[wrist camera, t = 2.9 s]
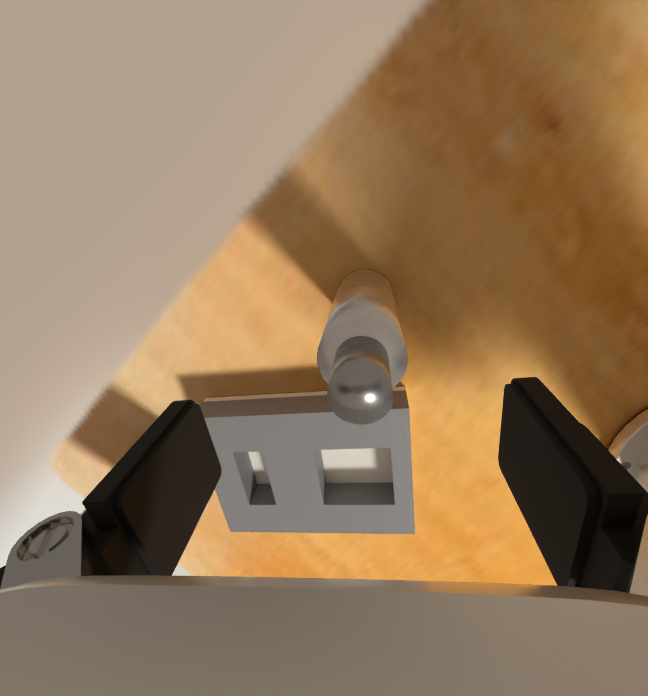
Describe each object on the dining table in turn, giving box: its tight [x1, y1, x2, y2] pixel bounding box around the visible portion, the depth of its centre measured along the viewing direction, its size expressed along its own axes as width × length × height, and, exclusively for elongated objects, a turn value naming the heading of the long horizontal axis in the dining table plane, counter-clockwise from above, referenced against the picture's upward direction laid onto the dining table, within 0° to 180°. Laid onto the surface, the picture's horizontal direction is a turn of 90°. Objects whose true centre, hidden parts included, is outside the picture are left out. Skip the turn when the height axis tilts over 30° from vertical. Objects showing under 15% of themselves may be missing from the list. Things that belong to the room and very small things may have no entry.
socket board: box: [200, 386, 415, 534], centre depth 29 cm, size 17×13×3 cm
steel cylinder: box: [317, 269, 408, 425], centre depth 18 cm, size 4×4×13 cm
